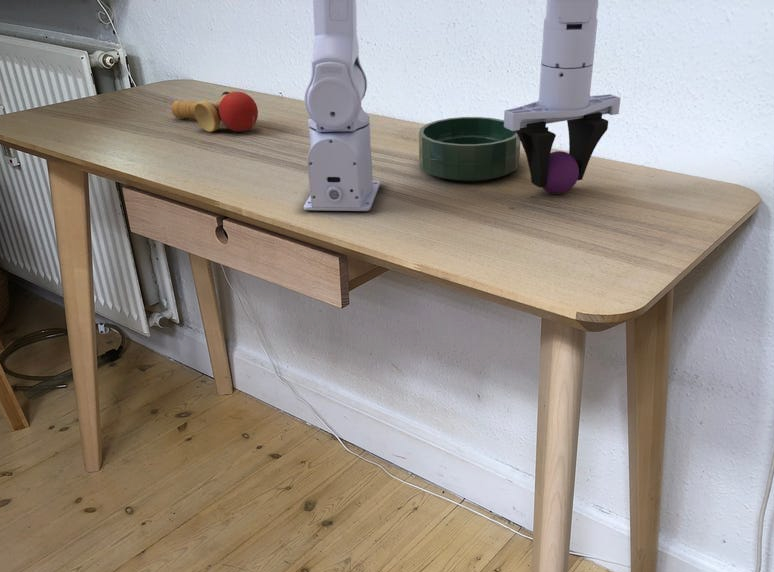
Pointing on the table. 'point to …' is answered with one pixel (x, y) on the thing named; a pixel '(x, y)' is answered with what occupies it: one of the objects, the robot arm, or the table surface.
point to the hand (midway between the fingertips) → (557, 181)
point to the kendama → (220, 111)
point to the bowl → (468, 149)
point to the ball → (561, 172)
